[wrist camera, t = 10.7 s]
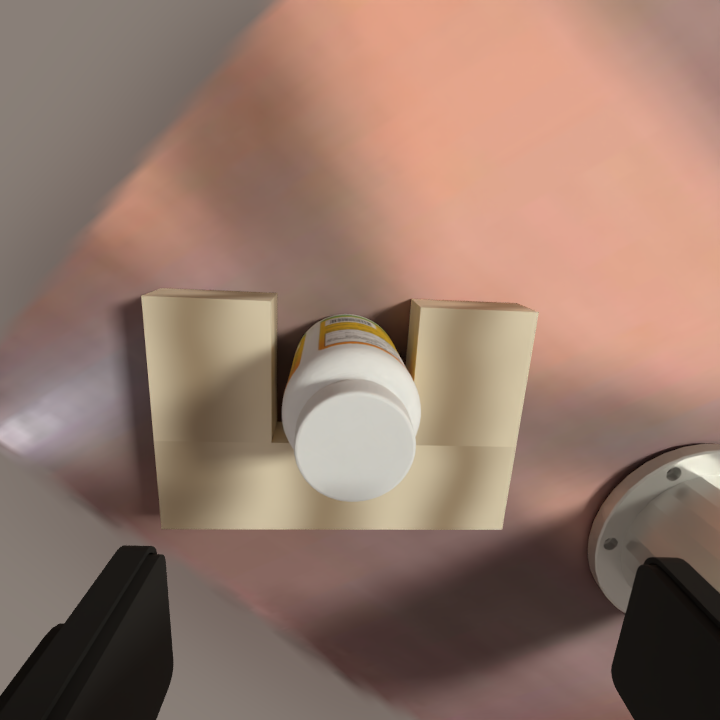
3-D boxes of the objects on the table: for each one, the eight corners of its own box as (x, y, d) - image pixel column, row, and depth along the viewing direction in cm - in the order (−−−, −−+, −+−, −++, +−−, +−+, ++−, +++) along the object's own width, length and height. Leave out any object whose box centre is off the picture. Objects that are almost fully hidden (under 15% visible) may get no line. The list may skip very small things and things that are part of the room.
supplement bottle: (336, 427, 25) (339, 549, 15) (273, 353, 23) (235, 438, 14) (415, 371, 24) (469, 462, 15) (356, 291, 23) (374, 336, 13)
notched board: (517, 303, 23) (538, 312, 21) (486, 502, 27) (502, 529, 24) (161, 288, 22) (141, 295, 19) (177, 500, 25) (161, 529, 23)
